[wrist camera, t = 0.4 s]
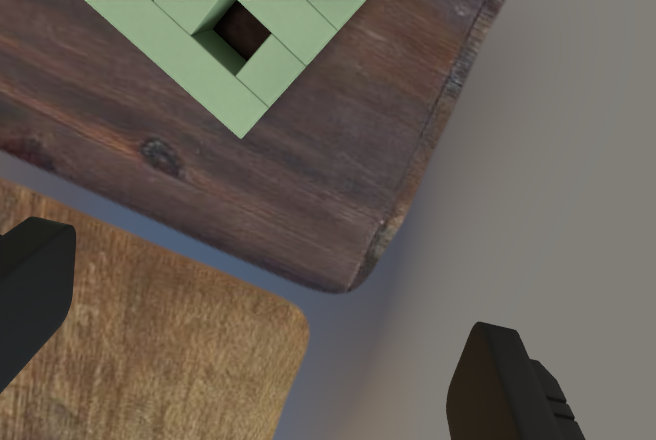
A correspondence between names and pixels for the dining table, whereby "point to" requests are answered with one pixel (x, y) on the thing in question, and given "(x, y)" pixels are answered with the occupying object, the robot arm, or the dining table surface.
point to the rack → (229, 48)
